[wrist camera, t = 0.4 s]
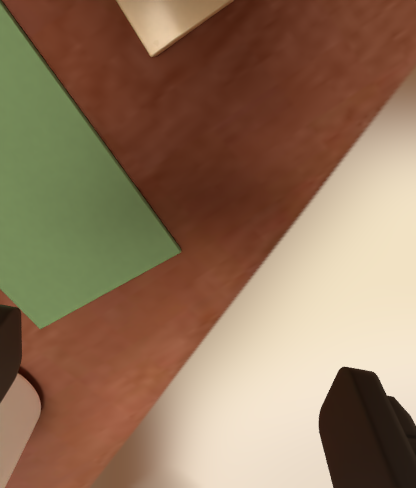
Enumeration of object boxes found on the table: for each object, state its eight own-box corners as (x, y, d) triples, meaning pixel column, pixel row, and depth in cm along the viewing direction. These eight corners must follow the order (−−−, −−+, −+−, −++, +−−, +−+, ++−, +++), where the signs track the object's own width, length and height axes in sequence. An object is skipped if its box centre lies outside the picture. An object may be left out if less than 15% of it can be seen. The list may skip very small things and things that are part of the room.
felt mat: (-214, 66, 21) (-221, 66, 21) (-62, -87, 18) (-67, -89, 18) (42, 326, 28) (40, 329, 28) (181, 249, 25) (181, 252, 25)
